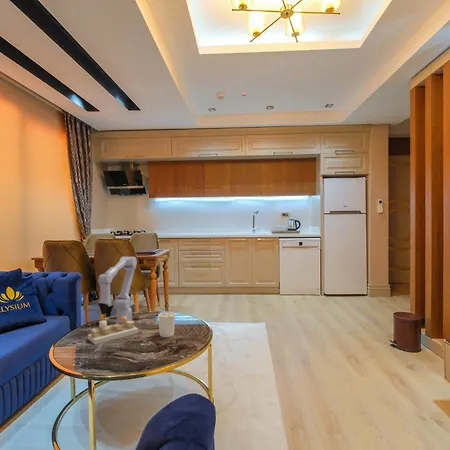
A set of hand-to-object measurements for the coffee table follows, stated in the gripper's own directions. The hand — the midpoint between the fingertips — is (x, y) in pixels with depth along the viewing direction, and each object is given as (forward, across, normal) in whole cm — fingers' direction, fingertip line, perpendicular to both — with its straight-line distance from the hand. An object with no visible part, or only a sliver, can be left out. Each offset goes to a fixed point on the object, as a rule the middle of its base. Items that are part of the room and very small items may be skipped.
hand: (105, 315), depth 196 cm
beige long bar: (+7, +12, 0) cm, 14 cm away
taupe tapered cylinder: (+3, +12, -6) cm, 14 cm away
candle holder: (+10, +32, +24) cm, 41 cm away
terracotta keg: (+3, +12, +6) cm, 14 cm away
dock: (+9, +12, 0) cm, 15 cm away
